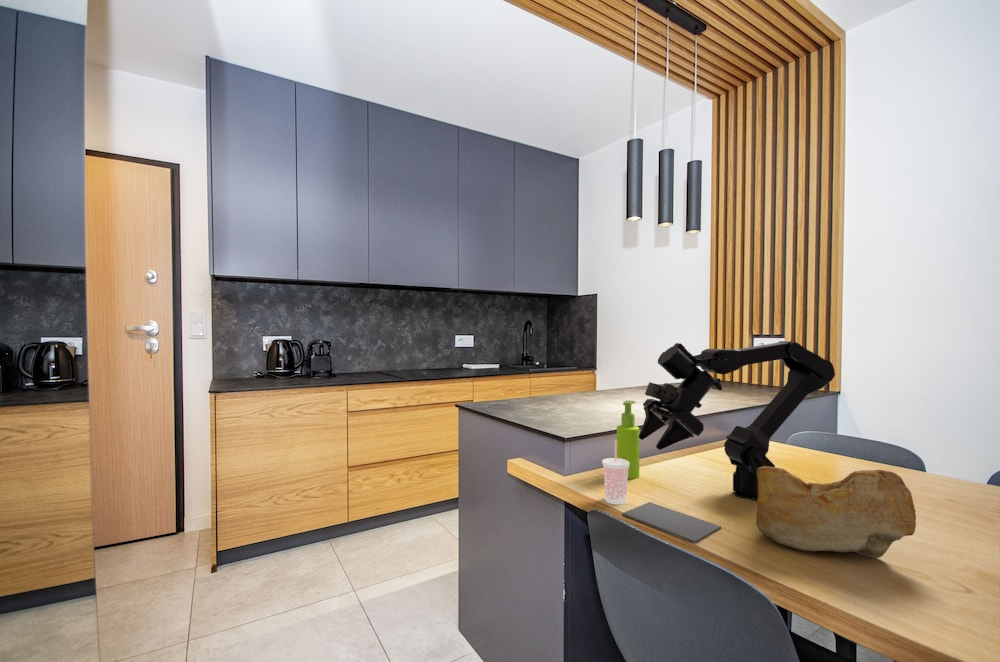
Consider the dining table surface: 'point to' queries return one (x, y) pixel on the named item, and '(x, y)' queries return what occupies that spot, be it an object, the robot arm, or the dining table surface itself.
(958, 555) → the dining table surface
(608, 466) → the beverage cup
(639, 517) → the mat
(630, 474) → the soap dispenser
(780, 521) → the rough brown rock
